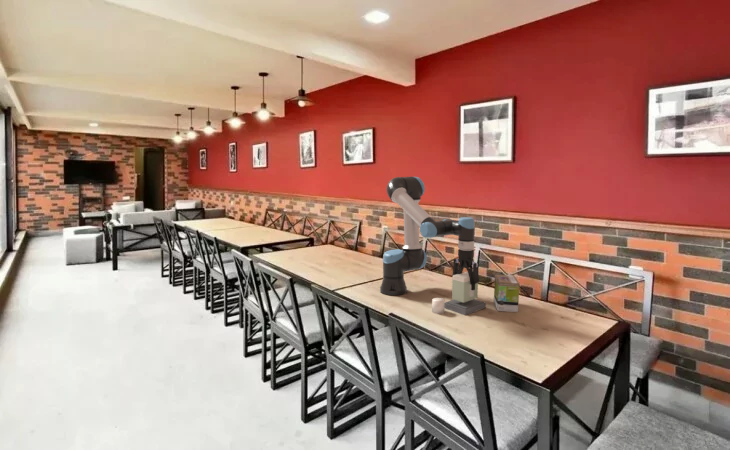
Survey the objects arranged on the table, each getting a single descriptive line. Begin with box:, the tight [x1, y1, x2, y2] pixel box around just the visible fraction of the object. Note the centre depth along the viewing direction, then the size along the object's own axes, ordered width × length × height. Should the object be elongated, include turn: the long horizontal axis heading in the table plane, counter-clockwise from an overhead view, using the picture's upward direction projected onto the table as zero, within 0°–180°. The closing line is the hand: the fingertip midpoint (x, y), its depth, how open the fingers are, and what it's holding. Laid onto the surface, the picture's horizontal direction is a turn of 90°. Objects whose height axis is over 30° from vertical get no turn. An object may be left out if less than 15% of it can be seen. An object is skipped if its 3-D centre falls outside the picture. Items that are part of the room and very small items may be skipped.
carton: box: [451, 271, 479, 303], centre depth 196 cm, size 7×11×12 cm, turn 128°
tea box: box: [493, 274, 520, 313], centre depth 198 cm, size 15×10×15 cm
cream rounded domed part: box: [431, 297, 446, 315], centre depth 193 cm, size 6×6×6 cm
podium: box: [445, 298, 486, 316], centre depth 198 cm, size 13×16×3 cm
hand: (464, 294), depth 197 cm, fingers closed on carton, 7 cm apart
